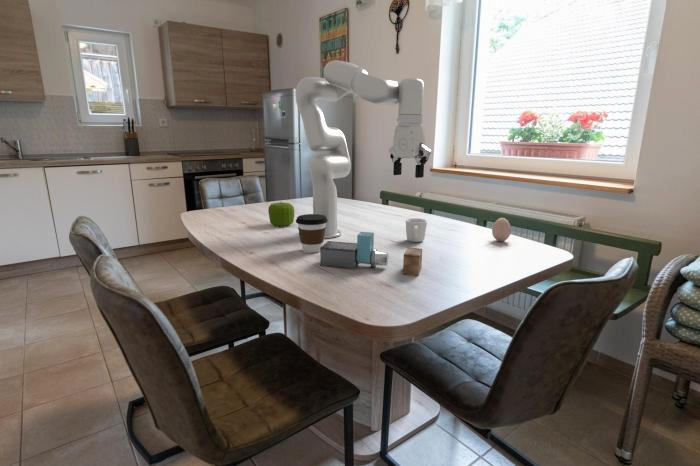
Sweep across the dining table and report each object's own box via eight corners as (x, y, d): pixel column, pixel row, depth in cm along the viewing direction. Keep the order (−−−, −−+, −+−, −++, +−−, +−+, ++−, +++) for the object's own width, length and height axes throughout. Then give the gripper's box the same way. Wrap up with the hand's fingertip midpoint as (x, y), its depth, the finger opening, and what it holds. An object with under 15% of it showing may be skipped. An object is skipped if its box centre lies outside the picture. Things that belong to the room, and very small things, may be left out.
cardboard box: (402, 274, 117) (403, 254, 115) (406, 266, 124) (407, 247, 122) (418, 275, 115) (419, 256, 114) (421, 267, 122) (422, 248, 121)
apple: (299, 224, 178) (298, 200, 175) (283, 229, 169) (282, 204, 167) (280, 221, 184) (279, 198, 181) (264, 226, 175) (262, 201, 172)
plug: (324, 265, 124) (324, 233, 122) (330, 259, 129) (330, 229, 127) (385, 271, 119) (385, 237, 116) (388, 265, 124) (389, 233, 122)
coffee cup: (303, 256, 132) (302, 221, 129) (292, 248, 142) (291, 215, 139) (333, 252, 137) (332, 218, 134) (320, 244, 147) (320, 212, 144)
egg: (488, 241, 152) (490, 217, 150) (495, 238, 157) (497, 215, 154) (505, 244, 147) (507, 220, 145) (512, 241, 152) (514, 217, 150)
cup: (425, 246, 145) (426, 224, 143) (403, 245, 147) (404, 223, 145) (426, 238, 155) (427, 218, 153) (405, 237, 157) (406, 217, 155)
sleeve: (320, 266, 123) (320, 247, 122) (328, 258, 131) (328, 241, 129) (354, 269, 120) (354, 250, 119) (361, 261, 128) (361, 243, 126)
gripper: (382, 121, 129) (381, 174, 133) (422, 120, 116) (420, 179, 120) (398, 121, 134) (397, 173, 138) (439, 120, 120) (436, 177, 125)
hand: (408, 176), depth 129 cm, fingers open, 9 cm apart
